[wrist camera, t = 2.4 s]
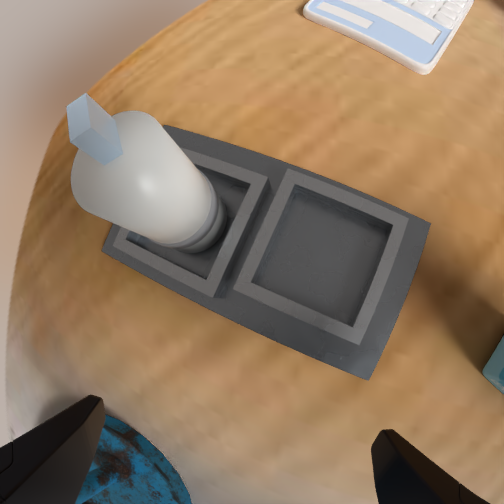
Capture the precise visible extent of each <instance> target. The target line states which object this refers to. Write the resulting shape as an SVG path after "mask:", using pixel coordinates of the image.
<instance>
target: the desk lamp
mask: <svg viewBox="0 0 504 504" xmlns="http://www.w3.org/2000/svg"><path fill="white" fill-rule="evenodd" d="M75 504H192V503H191V499H190V495H189V493H188V491H187V489H186V487H185V485H184V483H183V481H182V480H181V478H180V476H179V474H178V473H177V471H176V470H175V469H174V468H173V467H172V465H171V464H170V463H169V461H168V460H167V459H166V458H165V456H164V455H163V454H162V453H161V452H160V451H159V450H158V449H157V448H156V447H154V446H153V445H152V444H151V443H150V442H149V441H148V440H147V439H146V438H145V437H144V436H143V435H141V434H140V433H138V432H136V431H135V430H133V429H132V428H130V427H129V426H127V425H126V424H124V423H123V422H122V421H120V420H117V419H115V418H113V417H110V416H108V415H106V414H105V422H104V426H103V429H102V432H101V436H100V439H99V443H98V446H97V450H96V453H95V456H94V459H93V462H92V464H91V467H90V469H89V471H88V474H87V476H86V479H85V481H84V483H83V486H82V488H81V491H80V493H79V495H78V498H77V500H76V503H75Z"/></svg>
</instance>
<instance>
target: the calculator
mask: <svg viewBox="0 0 504 504" xmlns="http://www.w3.org/2000/svg"><path fill="white" fill-rule="evenodd" d="M473 2H474V0H409V1H408V0H310V1H309V2H308V3H307V4H306V5H305V6H304V8H303V15H304V17H305V18H307V19H308V20H310V21H313V22H315V23H317V24H320V25H322V26H325V27H327V28H329V29H332V30H334V31H336V32H339V33H341V34H343V35H345V36H347V37H350V38H352V39H354V40H356V41H358V42H360V43H362V44H364V45H366V46H368V47H370V48H372V49H374V50H376V51H378V52H380V53H382V54H384V55H385V56H387V57H389V58H391V59H393V60H395V61H396V62H398V63H400V64H402V65H403V66H405V67H407V68H408V69H410V70H412V71H414V72H416V73H418V74H422V75H426V74H428V73H430V72H431V71H432V69H433V68H434V67H435V65H436V64H437V62H438V60H439V59H440V57H441V56H442V54H443V53H444V51H445V49H446V48H447V46H448V44H449V43H450V41H451V40H452V38H453V36H454V35H455V33H456V31H457V30H458V28H459V26H460V25H461V23H462V21H463V20H464V18H465V16H466V15H467V13H468V11H469V10H470V8H471V6H472V4H473ZM460 11H461V12H460Z"/></svg>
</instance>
